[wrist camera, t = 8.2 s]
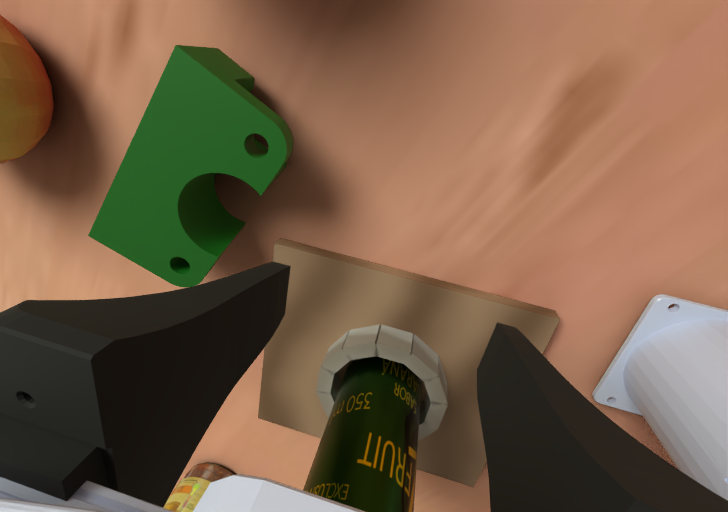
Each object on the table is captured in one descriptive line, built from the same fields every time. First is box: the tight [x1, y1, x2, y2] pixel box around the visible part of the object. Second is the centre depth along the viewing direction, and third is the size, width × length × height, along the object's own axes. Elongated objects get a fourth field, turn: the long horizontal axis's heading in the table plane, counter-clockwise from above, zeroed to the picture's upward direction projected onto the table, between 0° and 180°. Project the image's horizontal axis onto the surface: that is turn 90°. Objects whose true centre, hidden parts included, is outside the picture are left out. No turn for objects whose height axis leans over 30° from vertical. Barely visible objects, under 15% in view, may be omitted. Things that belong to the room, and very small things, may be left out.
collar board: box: [258, 238, 560, 487], centre depth 24 cm, size 18×16×3 cm
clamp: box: [88, 45, 293, 287], centre depth 19 cm, size 12×6×9 cm, turn 136°
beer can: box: [303, 356, 421, 512], centre depth 20 cm, size 5×5×12 cm
